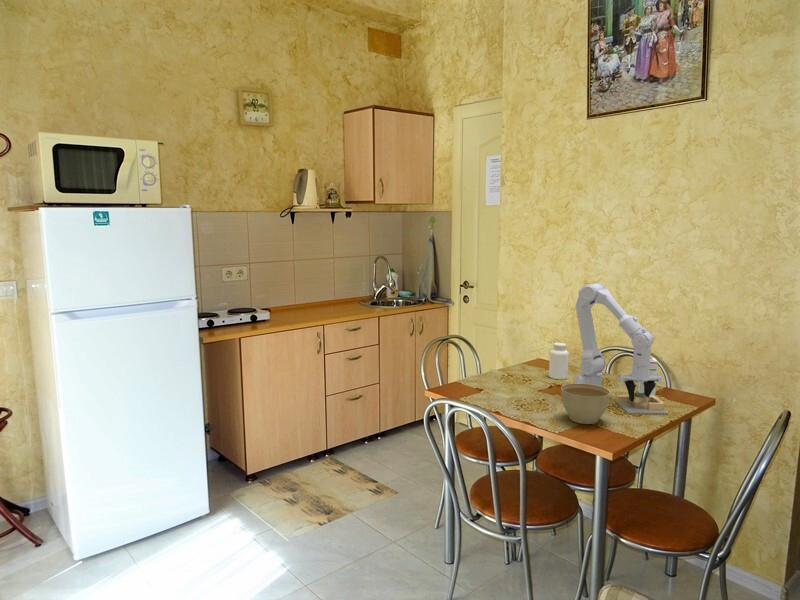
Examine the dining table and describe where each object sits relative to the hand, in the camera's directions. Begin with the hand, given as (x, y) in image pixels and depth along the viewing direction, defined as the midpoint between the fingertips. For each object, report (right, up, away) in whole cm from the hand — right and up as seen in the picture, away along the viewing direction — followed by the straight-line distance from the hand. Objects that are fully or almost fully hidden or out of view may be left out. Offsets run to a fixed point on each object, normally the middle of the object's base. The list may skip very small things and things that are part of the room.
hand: (638, 400), depth 206 cm
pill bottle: (-19, +3, +38) cm, 43 cm away
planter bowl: (-24, -5, -13) cm, 28 cm away
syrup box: (+10, -1, +16) cm, 19 cm away
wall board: (+1, -3, -1) cm, 3 cm away
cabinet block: (0, -2, -1) cm, 2 cm away
